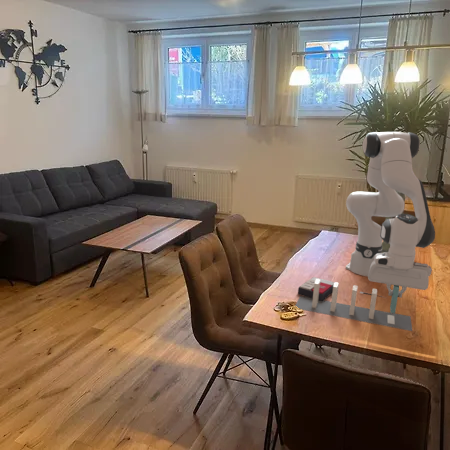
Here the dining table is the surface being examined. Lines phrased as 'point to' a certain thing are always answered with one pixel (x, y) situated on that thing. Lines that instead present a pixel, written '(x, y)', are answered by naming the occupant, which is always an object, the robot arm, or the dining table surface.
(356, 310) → the domino mat
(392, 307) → the domino
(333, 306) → the domino
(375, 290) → the domino
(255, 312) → the dining table surface
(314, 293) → the domino
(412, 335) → the dining table surface
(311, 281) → the calculator
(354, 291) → the domino
